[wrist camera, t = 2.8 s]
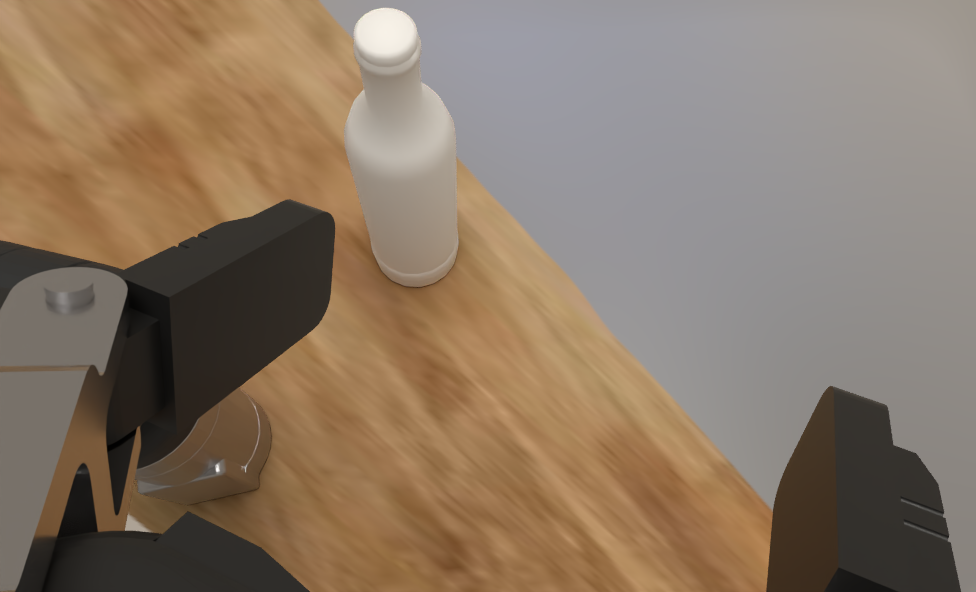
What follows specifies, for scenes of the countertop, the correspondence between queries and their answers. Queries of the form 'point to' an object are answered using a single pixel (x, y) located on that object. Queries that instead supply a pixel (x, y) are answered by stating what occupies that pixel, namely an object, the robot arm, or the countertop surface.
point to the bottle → (402, 154)
